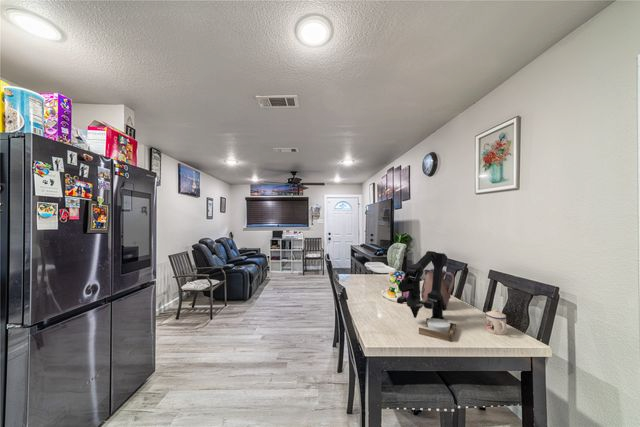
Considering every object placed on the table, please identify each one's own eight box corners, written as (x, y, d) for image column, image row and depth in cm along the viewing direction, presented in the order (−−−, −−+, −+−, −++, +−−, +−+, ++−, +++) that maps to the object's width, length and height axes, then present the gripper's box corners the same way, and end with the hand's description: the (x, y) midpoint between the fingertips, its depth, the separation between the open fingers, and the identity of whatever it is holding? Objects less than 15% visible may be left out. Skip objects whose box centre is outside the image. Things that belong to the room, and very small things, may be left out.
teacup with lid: (482, 327, 139) (482, 306, 140) (500, 328, 138) (499, 306, 139) (495, 337, 128) (494, 314, 128) (514, 338, 127) (514, 314, 127)
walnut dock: (426, 323, 146) (426, 317, 146) (456, 329, 137) (456, 323, 138) (418, 334, 132) (418, 328, 132) (451, 341, 123) (450, 335, 124)
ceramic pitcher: (422, 301, 186) (421, 267, 187) (454, 305, 176) (454, 269, 177) (420, 309, 170) (419, 271, 171) (456, 313, 161) (455, 274, 162)
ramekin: (442, 339, 127) (442, 328, 127) (422, 331, 136) (422, 321, 136) (455, 333, 132) (454, 323, 133) (435, 326, 142) (435, 316, 142)
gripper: (393, 290, 141) (393, 318, 141) (428, 295, 130) (429, 326, 130) (399, 286, 150) (400, 312, 150) (433, 290, 139) (434, 319, 139)
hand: (415, 317), depth 142 cm, fingers closed
